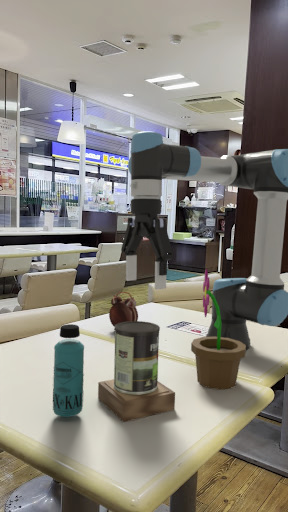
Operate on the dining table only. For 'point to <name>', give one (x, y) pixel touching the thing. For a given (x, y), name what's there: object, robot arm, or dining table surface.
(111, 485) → the dining table surface
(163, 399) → the walnut base
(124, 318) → the alarm clock
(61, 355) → the beverage bottle
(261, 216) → the robot arm
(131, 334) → the coffee can
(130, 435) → the dining table surface
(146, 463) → the dining table surface
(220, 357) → the flowerpot
